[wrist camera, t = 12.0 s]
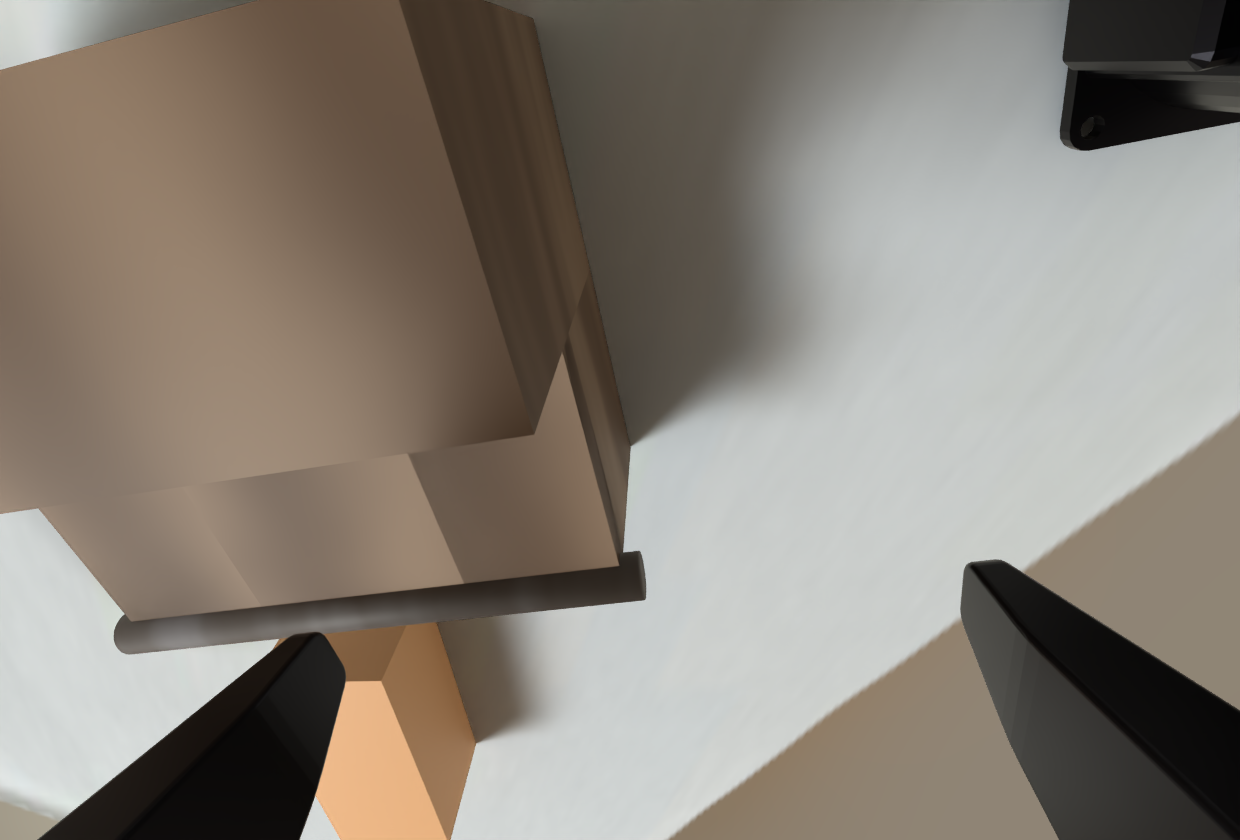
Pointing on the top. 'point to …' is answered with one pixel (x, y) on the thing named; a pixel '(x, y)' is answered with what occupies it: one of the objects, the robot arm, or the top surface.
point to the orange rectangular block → (396, 737)
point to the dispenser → (307, 325)
